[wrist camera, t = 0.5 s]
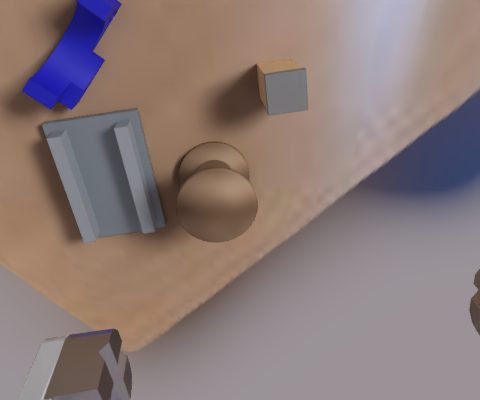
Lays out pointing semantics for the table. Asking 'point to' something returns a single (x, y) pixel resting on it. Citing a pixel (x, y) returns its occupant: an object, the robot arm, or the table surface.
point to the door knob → (215, 193)
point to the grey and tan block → (282, 86)
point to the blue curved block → (73, 56)
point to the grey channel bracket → (106, 173)
